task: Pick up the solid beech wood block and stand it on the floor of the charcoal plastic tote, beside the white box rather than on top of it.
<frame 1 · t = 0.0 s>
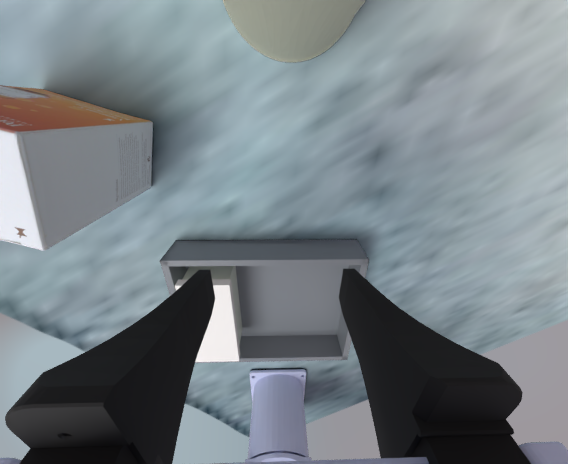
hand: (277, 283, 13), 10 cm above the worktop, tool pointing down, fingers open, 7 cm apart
small box: (103, 142, 19), on the worktop
white box: (219, 297, 25), point 1 cm above the worktop, touching tote
tote: (268, 293, 26), on the worktop
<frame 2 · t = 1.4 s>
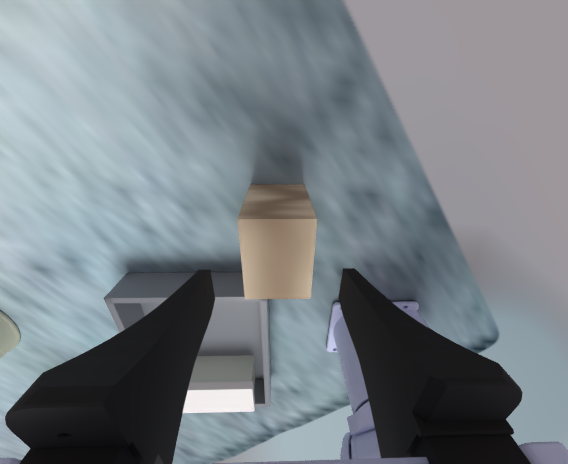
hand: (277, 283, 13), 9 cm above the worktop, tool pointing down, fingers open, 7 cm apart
white box: (215, 366, 29), point 1 cm above the worktop, touching tote
wood block: (277, 217, 21), on the worktop
tote: (210, 333, 27), on the worktop
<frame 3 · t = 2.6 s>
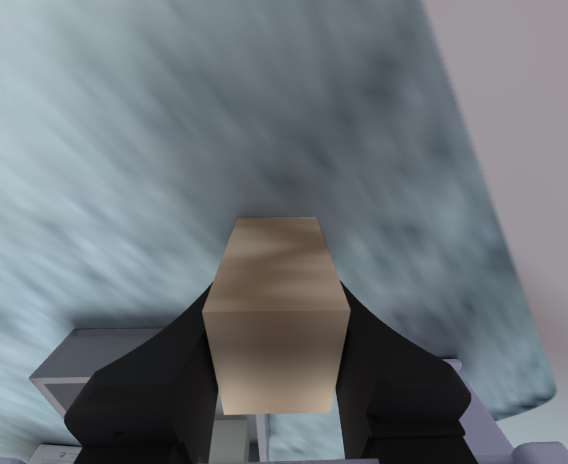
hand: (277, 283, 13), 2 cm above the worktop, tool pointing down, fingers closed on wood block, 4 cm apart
small box: (75, 456, 27), on the worktop
white box: (199, 431, 23), point 1 cm above the worktop, touching tote
wood block: (277, 260, 15), on the worktop, touching gripper
tote: (191, 395, 21), on the worktop
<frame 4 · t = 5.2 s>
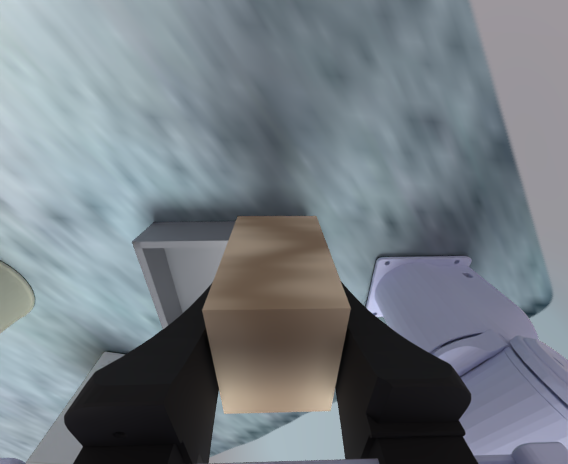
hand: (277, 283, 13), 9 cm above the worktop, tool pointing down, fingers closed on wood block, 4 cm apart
small box: (130, 369, 31), on the worktop
wood block: (277, 259, 15), point 7 cm above the worktop, touching gripper
tote: (240, 296, 25), on the worktop
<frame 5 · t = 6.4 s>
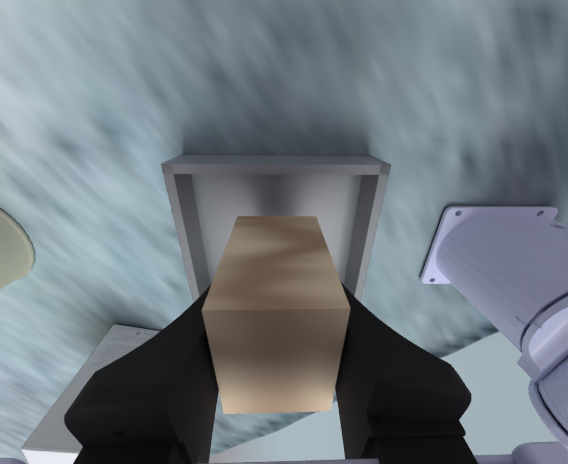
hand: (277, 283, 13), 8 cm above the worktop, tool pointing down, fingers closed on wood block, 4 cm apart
small box: (142, 347, 27), on the worktop
wood block: (277, 259, 15), point 6 cm above the worktop, touching gripper
tote: (277, 256, 21), on the worktop
when the fingers open (4 cm above the worktop, at t = 7.6 s): wood block drops 1 cm, resting on tote.
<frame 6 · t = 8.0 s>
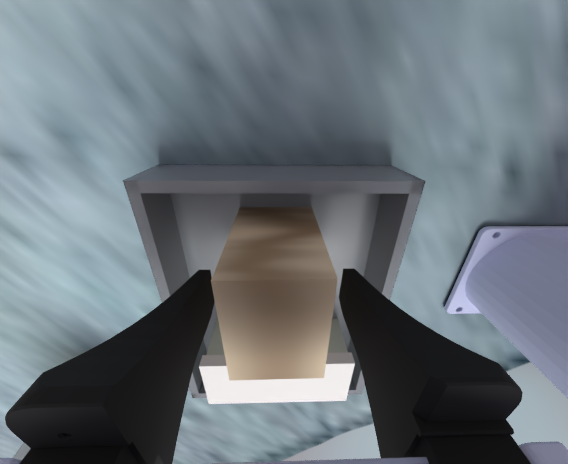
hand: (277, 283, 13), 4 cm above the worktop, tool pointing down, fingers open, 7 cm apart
white box: (277, 336, 20), point 1 cm above the worktop, touching tote
wood block: (276, 248, 16), point 1 cm above the worktop, touching tote
tote: (277, 282, 18), on the worktop
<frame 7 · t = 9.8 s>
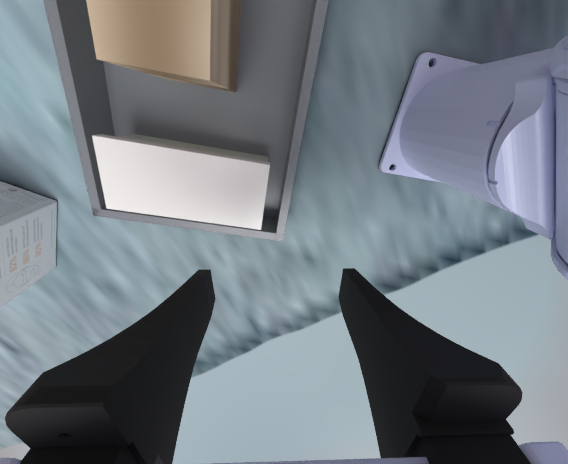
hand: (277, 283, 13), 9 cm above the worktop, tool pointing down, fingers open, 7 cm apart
small box: (26, 224, 21), on the worktop
white box: (203, 172, 18), point 1 cm above the worktop, touching tote
wood block: (203, 30, 14), point 1 cm above the worktop, touching tote
tote: (205, 96, 16), on the worktop
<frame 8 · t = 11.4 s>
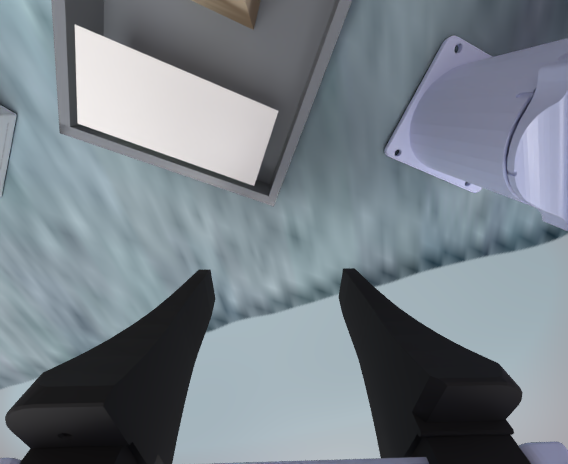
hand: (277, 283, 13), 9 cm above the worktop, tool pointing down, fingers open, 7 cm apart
white box: (199, 116, 16), point 1 cm above the worktop, touching tote
tote: (218, 27, 15), on the worktop
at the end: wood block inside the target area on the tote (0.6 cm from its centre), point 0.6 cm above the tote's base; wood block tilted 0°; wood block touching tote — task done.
